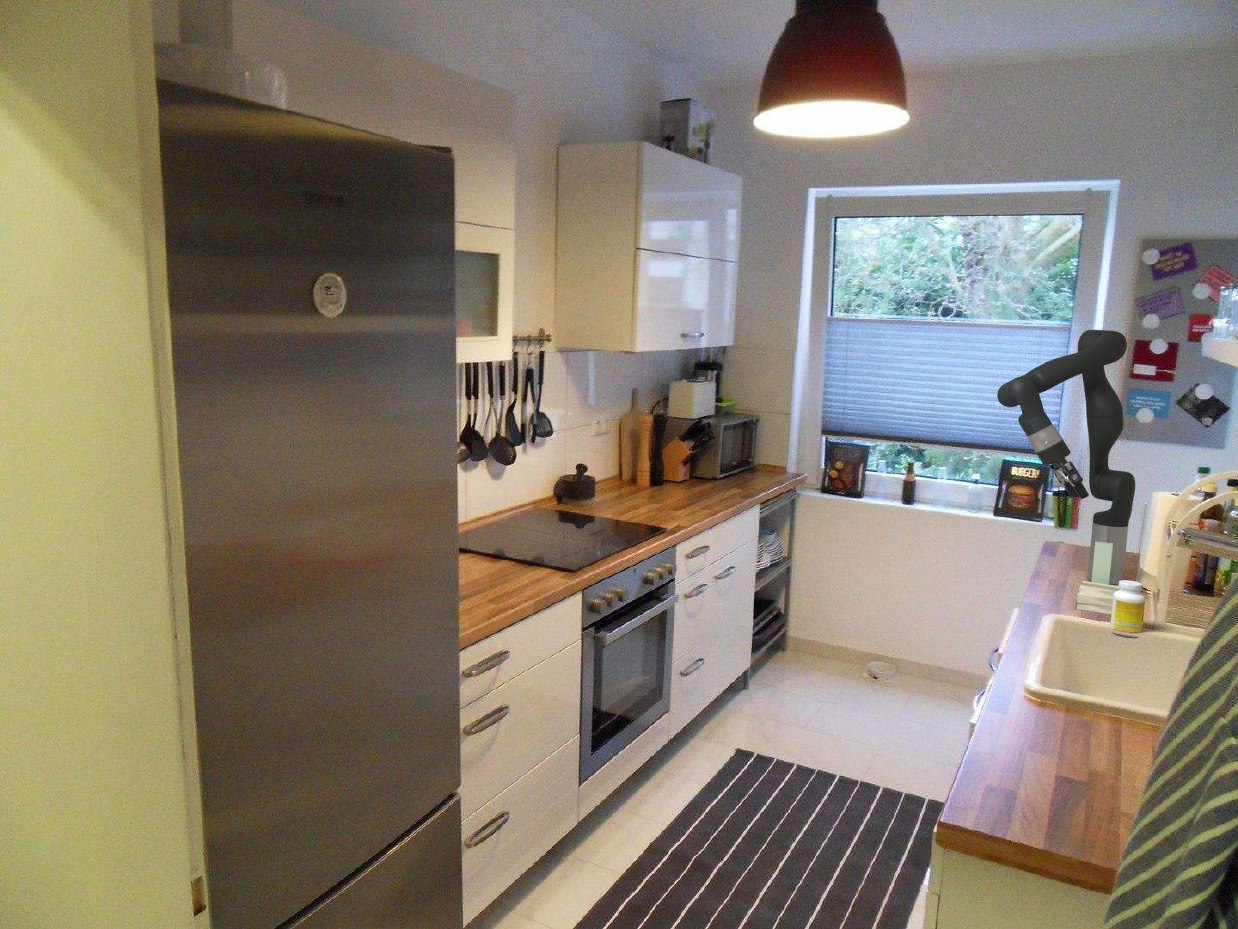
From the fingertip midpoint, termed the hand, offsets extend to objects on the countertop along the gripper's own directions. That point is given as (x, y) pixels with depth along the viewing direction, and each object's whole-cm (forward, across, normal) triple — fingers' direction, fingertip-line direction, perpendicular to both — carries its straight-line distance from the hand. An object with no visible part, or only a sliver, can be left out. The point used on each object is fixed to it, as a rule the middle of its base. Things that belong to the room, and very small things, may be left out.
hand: (1080, 496), depth 233 cm
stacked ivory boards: (+27, -4, +12) cm, 30 cm away
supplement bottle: (+30, -24, +13) cm, 41 cm away
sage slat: (+26, -2, +10) cm, 28 cm away
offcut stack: (+26, -8, +13) cm, 30 cm away
